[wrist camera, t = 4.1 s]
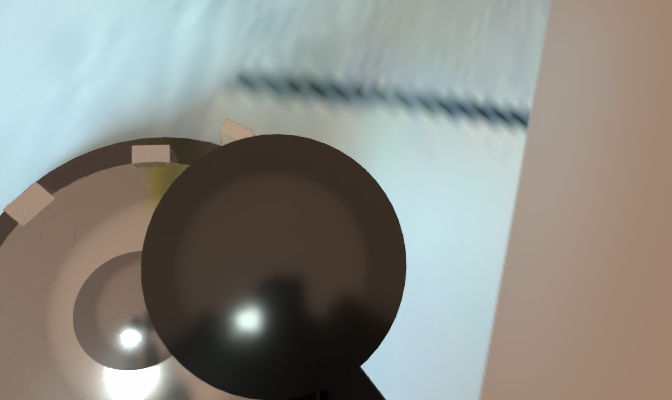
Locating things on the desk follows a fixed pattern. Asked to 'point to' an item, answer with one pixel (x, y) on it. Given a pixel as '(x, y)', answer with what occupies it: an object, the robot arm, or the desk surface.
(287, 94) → the desk surface
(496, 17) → the desk surface
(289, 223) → the sprocket
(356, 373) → the robot arm
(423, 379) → the desk surface
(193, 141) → the base plate
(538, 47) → the desk surface
